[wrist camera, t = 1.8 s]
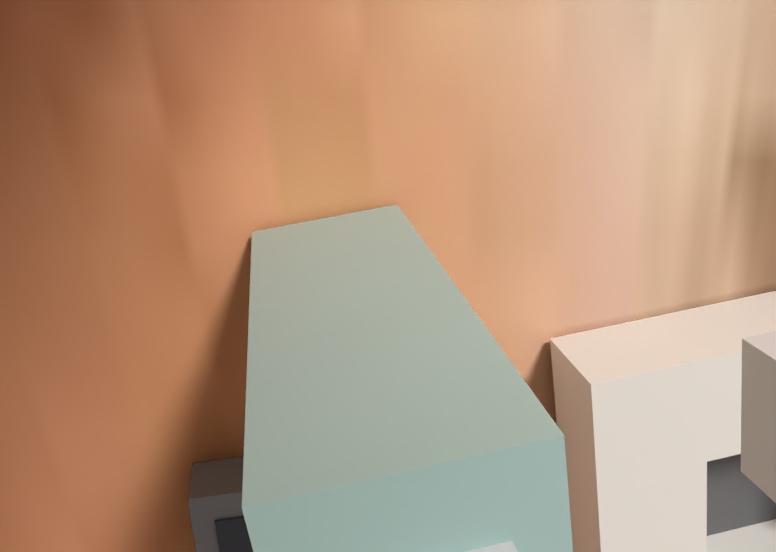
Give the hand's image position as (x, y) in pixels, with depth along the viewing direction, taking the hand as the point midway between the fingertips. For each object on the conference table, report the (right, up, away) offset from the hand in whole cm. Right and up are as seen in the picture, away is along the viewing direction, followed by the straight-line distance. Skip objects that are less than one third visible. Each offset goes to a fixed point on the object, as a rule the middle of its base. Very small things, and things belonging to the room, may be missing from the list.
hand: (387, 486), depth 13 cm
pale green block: (-1, +3, +8) cm, 9 cm away
